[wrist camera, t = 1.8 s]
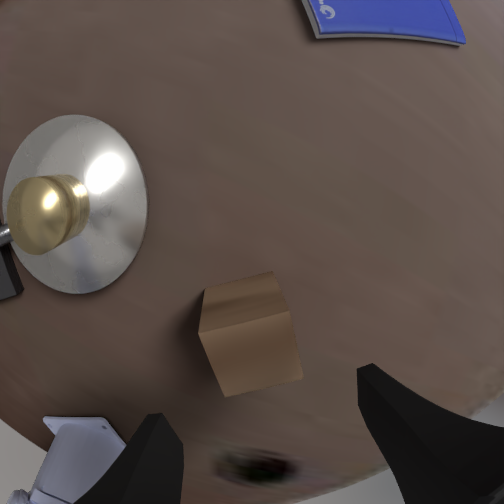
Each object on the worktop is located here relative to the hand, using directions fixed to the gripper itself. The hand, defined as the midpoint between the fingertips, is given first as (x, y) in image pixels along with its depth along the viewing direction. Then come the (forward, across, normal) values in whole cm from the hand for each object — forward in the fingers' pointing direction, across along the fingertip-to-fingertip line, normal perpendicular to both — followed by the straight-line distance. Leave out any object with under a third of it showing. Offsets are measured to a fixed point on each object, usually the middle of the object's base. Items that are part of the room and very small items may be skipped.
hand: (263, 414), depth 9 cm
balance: (+8, +18, -9) cm, 22 cm away
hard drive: (+9, -14, -19) cm, 25 cm away
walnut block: (+9, 0, 0) cm, 9 cm away
